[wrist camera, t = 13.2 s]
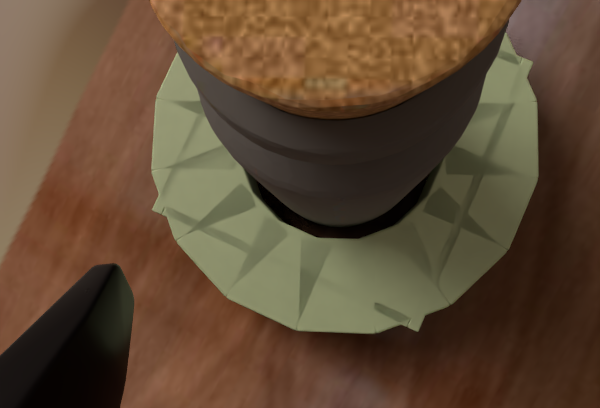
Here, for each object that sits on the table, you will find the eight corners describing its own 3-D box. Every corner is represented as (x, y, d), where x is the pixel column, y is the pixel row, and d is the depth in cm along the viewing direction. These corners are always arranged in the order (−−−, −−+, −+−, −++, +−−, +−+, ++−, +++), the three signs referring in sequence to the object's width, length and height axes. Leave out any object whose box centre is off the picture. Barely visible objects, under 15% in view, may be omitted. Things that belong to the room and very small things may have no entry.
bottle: (385, 251, 20) (499, 239, 5) (244, 196, 21) (1, 54, 6) (437, 110, 21) (682, -264, 6) (297, 61, 21) (192, -389, 6)
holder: (567, 62, 21) (599, 36, 18) (432, 383, 20) (445, 401, 17) (257, -58, 22) (247, -98, 19) (118, 236, 21) (89, 233, 19)
